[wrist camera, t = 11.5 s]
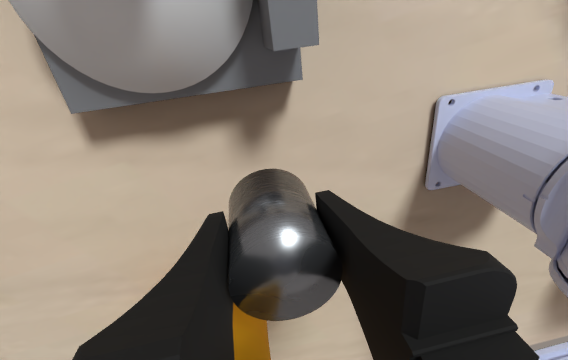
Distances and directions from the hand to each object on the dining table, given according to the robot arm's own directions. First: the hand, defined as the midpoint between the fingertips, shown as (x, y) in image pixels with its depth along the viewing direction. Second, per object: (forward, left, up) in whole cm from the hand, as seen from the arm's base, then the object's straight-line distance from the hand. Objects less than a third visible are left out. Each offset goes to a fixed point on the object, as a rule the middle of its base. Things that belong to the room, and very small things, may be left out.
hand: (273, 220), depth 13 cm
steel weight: (0, 0, -2) cm, 2 cm away
